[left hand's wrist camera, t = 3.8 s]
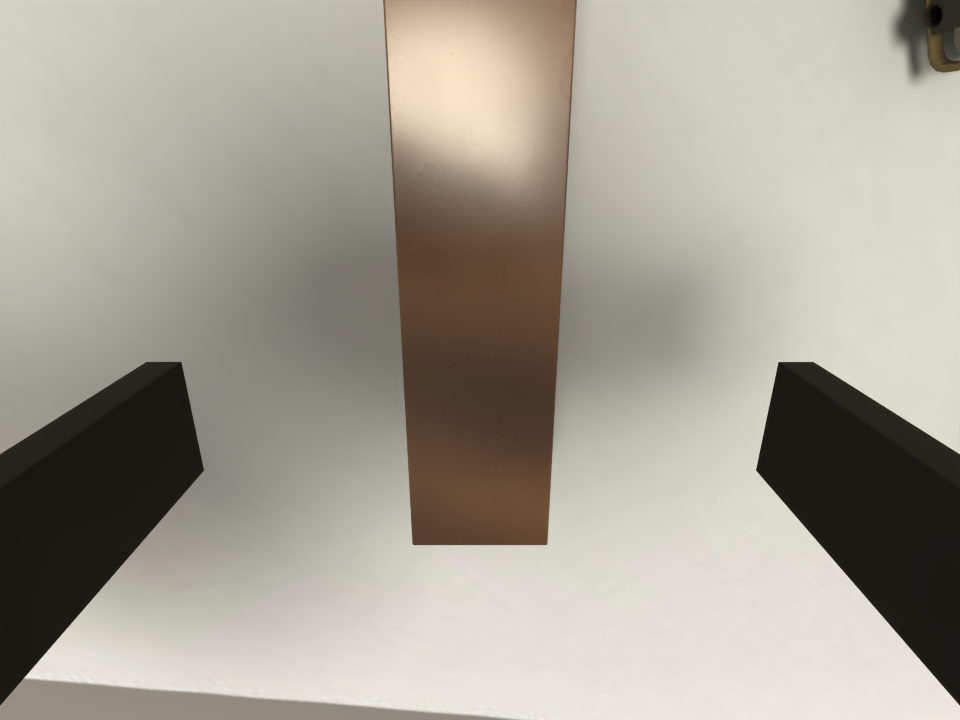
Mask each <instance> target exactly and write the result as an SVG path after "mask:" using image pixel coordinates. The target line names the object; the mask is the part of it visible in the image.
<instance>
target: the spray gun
mask: <svg viewBox="0 0 960 720" xmlns="http://www.w3.org/2000/svg"><path fill="white" fill-rule="evenodd" d="M924 21H925V25H926V26H927V35H928V57H929V61H930V65H931V66H932V67H933V68H934V69H935V70H936V71H939V72H952V71H958V70H960V61H951V60H948V58H947V57H946V56H945V53H944V50H943V33H945V32H947V31H950V30H952V29H954V46H955V48H956V49H957V50H958V52H959V53H960V0H926V10H925V14H924Z"/></svg>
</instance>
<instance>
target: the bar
mask: <svg viewBox="0 0 960 720" xmlns="http://www.w3.org/2000/svg"><path fill="white" fill-rule="evenodd" d="M383 4H384V23H385V41H386V60H387V78H388V97H389V116H390V134H391V153H392V171H393V190H394V208H395V227H396V246H397V264H398V283H399V301H400V320H401V338H402V357H403V376H404V394H405V413H406V431H407V450H408V468H409V487H410V506H411V524H412V543H413V545H547V542H548V523H549V505H550V486H551V468H552V449H553V431H554V412H555V393H556V375H557V356H558V338H559V319H560V301H561V282H562V264H563V245H564V227H565V208H566V190H567V171H568V153H569V134H570V116H571V97H572V78H573V60H574V41H575V23H576V4H577V0H383Z"/></svg>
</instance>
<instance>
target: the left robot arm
mask: <svg viewBox="0 0 960 720" xmlns="http://www.w3.org/2000/svg"><path fill="white" fill-rule="evenodd" d="M203 471H204V469H203V464H202V459H201V454H200V449H199V445H198V440H197V435H196V430H195V425H194V421H193V416H192V411H191V406H190V401H189V397H188V392H187V387H186V382H185V377H184V373H183V368H182V363H181V362H146V363H144V364H143V365H141V366H140V367H138V368H136V369H135V370H133V371H132V372H130V373H128V374H127V375H125V376H124V377H122V378H121V379H119V380H117V381H116V382H114V383H113V384H111V385H109V386H108V387H106V388H105V389H103V390H102V391H100V392H98V393H97V394H95V395H94V396H92V397H90V398H89V399H87V400H86V401H84V402H82V403H81V404H79V405H78V406H76V407H75V408H73V409H71V410H70V411H68V412H67V413H65V414H63V415H62V416H60V417H59V418H57V419H56V420H54V421H52V422H51V423H49V424H48V425H46V426H44V427H43V428H41V429H40V430H38V431H37V432H35V433H33V434H32V435H30V436H29V437H27V438H25V439H24V440H22V441H21V442H19V443H17V444H16V445H14V446H13V447H11V448H10V449H8V450H6V451H5V452H3V453H2V454H0V705H1V704H2V703H3V702H4V700H5V699H6V698H7V697H8V696H9V695H10V694H11V692H12V691H13V690H14V689H15V688H16V686H17V685H18V684H19V683H20V682H21V681H22V680H23V679H24V677H25V676H26V675H27V674H28V673H29V672H30V670H31V669H32V668H33V667H34V666H35V665H36V664H37V662H38V661H39V660H40V659H41V658H42V657H43V655H44V654H45V653H46V652H47V651H48V650H49V649H50V647H51V646H52V645H53V644H54V643H55V642H56V640H57V639H58V638H59V637H60V636H61V635H62V634H63V632H64V631H65V630H66V629H67V628H68V627H69V625H70V624H71V623H72V622H73V621H74V620H75V619H76V617H77V616H78V615H79V614H80V613H81V612H82V610H83V609H84V608H85V607H86V606H87V605H88V604H89V602H90V601H91V600H92V599H93V598H94V597H95V595H96V594H97V593H98V592H99V591H100V590H101V589H102V587H103V586H104V585H105V584H106V583H107V582H108V580H109V579H110V578H111V577H112V576H113V575H114V574H115V572H116V571H117V570H118V569H119V568H120V567H121V565H122V564H123V563H124V562H125V561H126V560H127V559H128V557H129V556H130V555H131V554H132V553H133V552H134V550H135V549H136V548H137V547H138V546H139V545H140V544H141V542H142V541H143V540H144V539H145V538H146V537H147V535H148V534H149V533H150V532H151V531H152V530H153V529H154V527H155V526H156V525H157V524H158V523H159V522H160V520H161V519H162V518H163V517H164V516H165V515H166V514H167V512H168V511H169V510H170V509H171V508H172V507H173V505H174V504H175V503H176V502H177V501H178V500H179V499H180V497H181V496H182V495H183V494H184V493H185V492H186V490H187V489H188V488H189V487H190V486H191V485H192V484H193V482H194V481H195V480H196V479H197V478H198V477H199V475H200V474H201V473H202V472H203ZM756 471H757V472H758V473H759V474H760V475H761V477H762V478H763V479H764V480H765V481H766V482H767V484H768V485H769V486H770V487H771V488H772V489H773V490H774V492H775V493H776V494H777V495H778V496H779V497H780V499H781V500H782V501H783V502H784V503H785V504H786V505H787V507H788V508H789V509H790V510H791V511H792V512H793V514H794V515H795V516H796V517H797V518H798V519H799V520H800V522H801V523H802V524H803V525H804V526H805V527H806V529H807V530H808V531H809V532H810V533H811V534H812V535H813V537H814V538H815V539H816V540H817V541H818V542H819V544H820V545H821V546H822V547H823V548H824V549H825V550H826V552H827V553H828V554H829V555H830V556H831V557H832V559H833V560H834V561H835V562H836V563H837V564H838V565H839V567H840V568H841V569H842V570H843V571H844V572H845V574H846V575H847V576H848V577H849V578H850V579H851V580H852V582H853V583H854V584H855V585H856V586H857V587H858V589H859V590H860V591H861V592H862V593H863V594H864V595H865V597H866V598H867V599H868V600H869V601H870V602H871V604H872V605H873V606H874V607H875V608H876V609H877V610H878V612H879V613H880V614H881V615H882V616H883V617H884V619H885V620H886V621H887V622H888V623H889V624H890V625H891V627H892V628H893V629H894V630H895V631H896V632H897V634H898V635H899V636H900V637H901V638H902V639H903V640H904V642H905V643H906V644H907V645H908V646H909V647H910V649H911V650H912V651H913V652H914V653H915V654H916V655H917V657H918V658H919V659H920V660H921V661H922V662H923V664H924V665H925V666H926V667H927V668H928V669H929V670H930V672H931V673H932V674H933V675H934V676H935V677H936V679H937V680H938V681H939V682H940V683H941V684H942V685H943V687H944V688H945V689H946V690H947V691H948V692H949V694H950V695H951V696H952V697H953V698H954V699H955V700H956V702H957V703H958V704H959V705H960V454H958V453H957V452H955V451H954V450H952V449H950V448H949V447H947V446H946V445H944V444H943V443H941V442H939V441H938V440H936V439H935V438H933V437H931V436H930V435H928V434H927V433H925V432H923V431H922V430H920V429H919V428H917V427H916V426H914V425H912V424H911V423H909V422H908V421H906V420H904V419H903V418H901V417H900V416H898V415H897V414H895V413H893V412H892V411H890V410H889V409H887V408H885V407H884V406H882V405H881V404H879V403H878V402H876V401H874V400H873V399H871V398H870V397H868V396H866V395H865V394H863V393H862V392H860V391H858V390H857V389H855V388H854V387H852V386H851V385H849V384H847V383H846V382H844V381H843V380H841V379H839V378H838V377H836V376H835V375H833V374H832V373H830V372H828V371H827V370H825V369H824V368H822V367H820V366H819V365H817V364H816V363H814V362H779V363H778V368H777V373H776V377H775V382H774V387H773V392H772V397H771V401H770V406H769V411H768V416H767V421H766V425H765V430H764V435H763V440H762V445H761V449H760V454H759V459H758V464H757V469H756Z"/></svg>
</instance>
